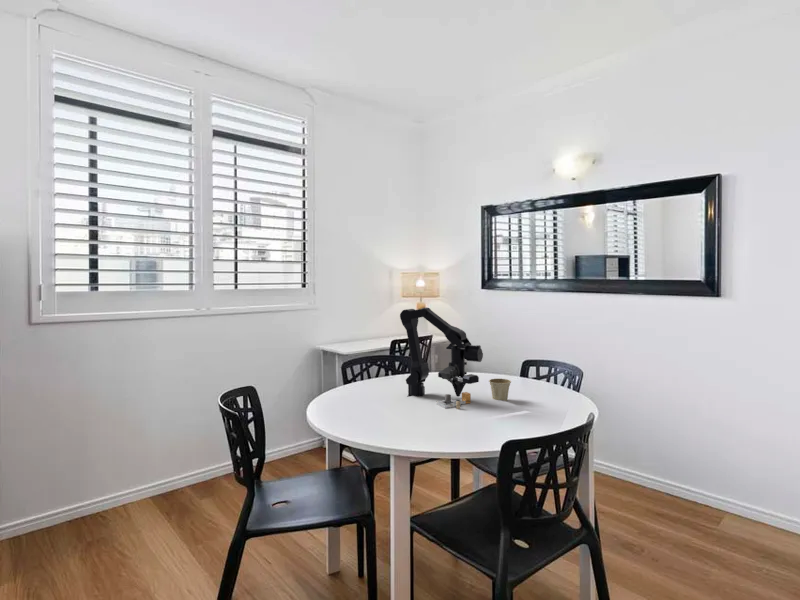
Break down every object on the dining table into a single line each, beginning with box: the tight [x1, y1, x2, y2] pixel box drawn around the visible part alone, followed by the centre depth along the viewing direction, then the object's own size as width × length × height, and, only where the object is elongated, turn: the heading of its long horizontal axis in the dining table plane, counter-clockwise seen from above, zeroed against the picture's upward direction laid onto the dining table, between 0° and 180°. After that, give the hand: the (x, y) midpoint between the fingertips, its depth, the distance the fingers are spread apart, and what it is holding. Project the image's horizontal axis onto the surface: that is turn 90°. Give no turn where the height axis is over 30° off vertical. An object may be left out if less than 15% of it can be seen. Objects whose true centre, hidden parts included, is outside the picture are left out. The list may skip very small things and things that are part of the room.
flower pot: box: [488, 378, 512, 402], centre depth 207 cm, size 9×9×9 cm
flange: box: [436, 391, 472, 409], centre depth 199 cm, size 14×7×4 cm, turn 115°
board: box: [444, 393, 461, 410], centre depth 197 cm, size 22×22×5 cm
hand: (458, 396), depth 205 cm, fingers closed
